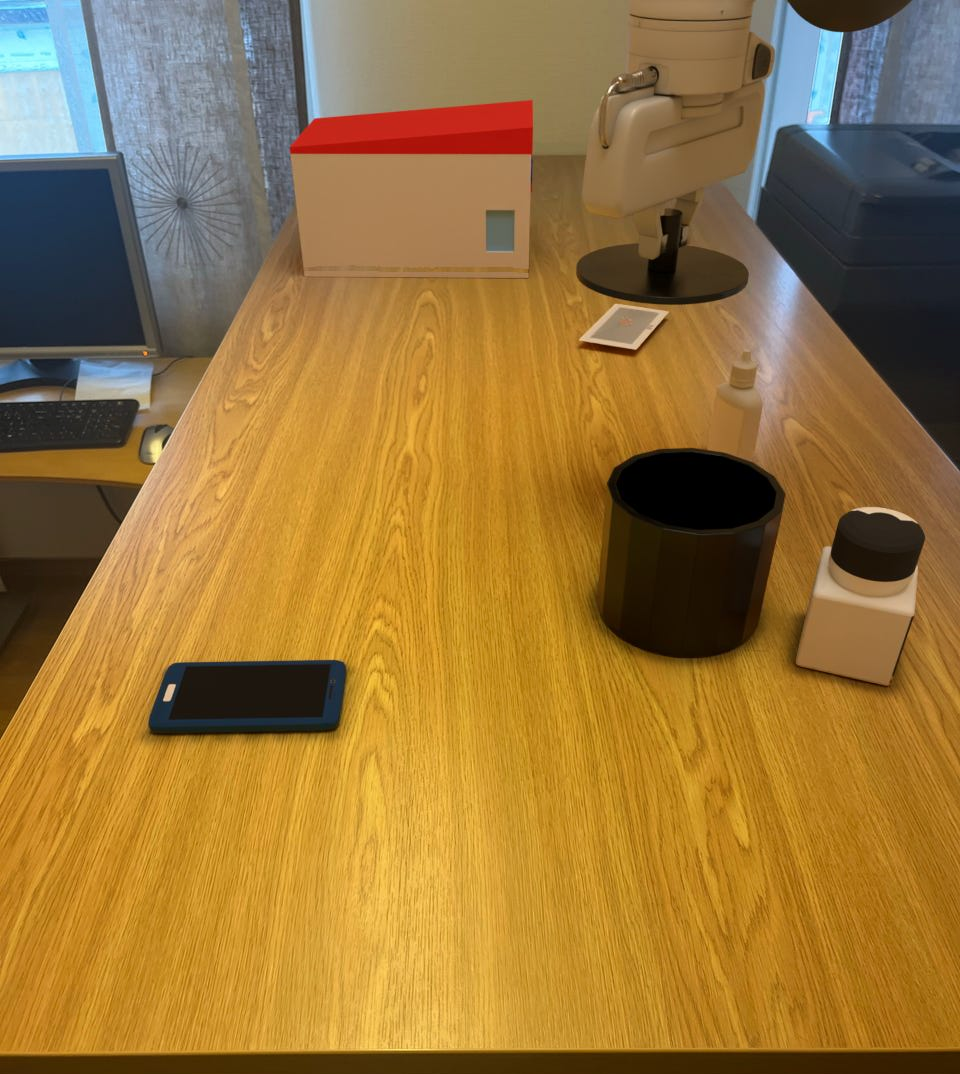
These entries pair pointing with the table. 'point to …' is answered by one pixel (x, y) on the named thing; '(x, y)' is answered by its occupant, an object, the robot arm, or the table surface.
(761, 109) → the robot arm
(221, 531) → the table surface
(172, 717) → the cell phone
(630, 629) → the tin
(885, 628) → the medicine bottle
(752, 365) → the eye dropper bottle
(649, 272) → the tin lid
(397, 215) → the bookstore
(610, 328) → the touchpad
